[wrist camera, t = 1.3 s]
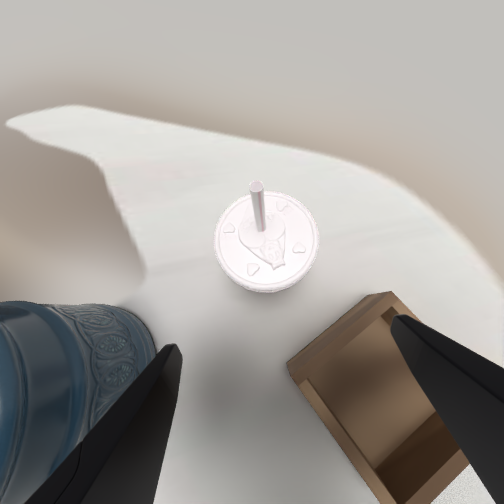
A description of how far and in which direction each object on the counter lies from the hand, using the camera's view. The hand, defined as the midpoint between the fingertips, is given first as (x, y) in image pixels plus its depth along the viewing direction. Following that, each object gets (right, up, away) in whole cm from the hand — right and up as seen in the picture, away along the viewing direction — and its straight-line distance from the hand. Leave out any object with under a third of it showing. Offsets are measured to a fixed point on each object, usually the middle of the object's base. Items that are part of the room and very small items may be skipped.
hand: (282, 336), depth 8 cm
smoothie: (0, +2, +13) cm, 13 cm away
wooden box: (+9, -7, +9) cm, 15 cm away
